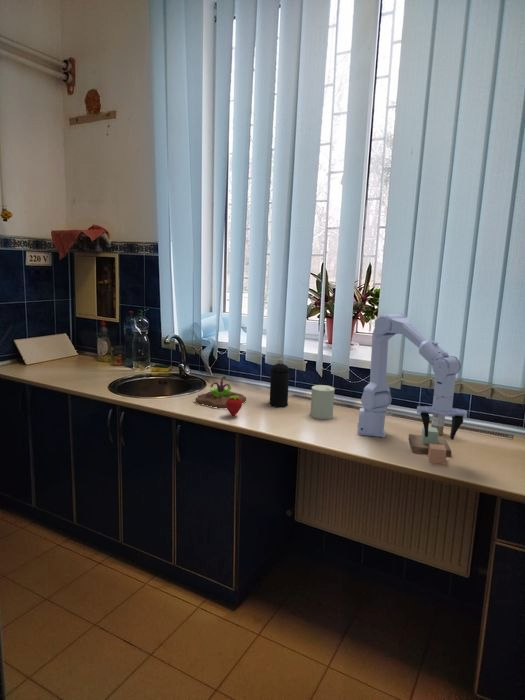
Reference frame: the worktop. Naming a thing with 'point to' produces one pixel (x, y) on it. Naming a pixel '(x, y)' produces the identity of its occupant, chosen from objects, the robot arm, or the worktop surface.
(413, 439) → the walnut base
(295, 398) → the worktop surface
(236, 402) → the strawberry
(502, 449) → the worktop surface
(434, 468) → the worktop surface
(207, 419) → the worktop surface
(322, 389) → the can
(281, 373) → the aerosol can
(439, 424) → the sprinkles bottle
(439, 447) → the terracotta cube
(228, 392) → the plant
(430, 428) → the sage cube
